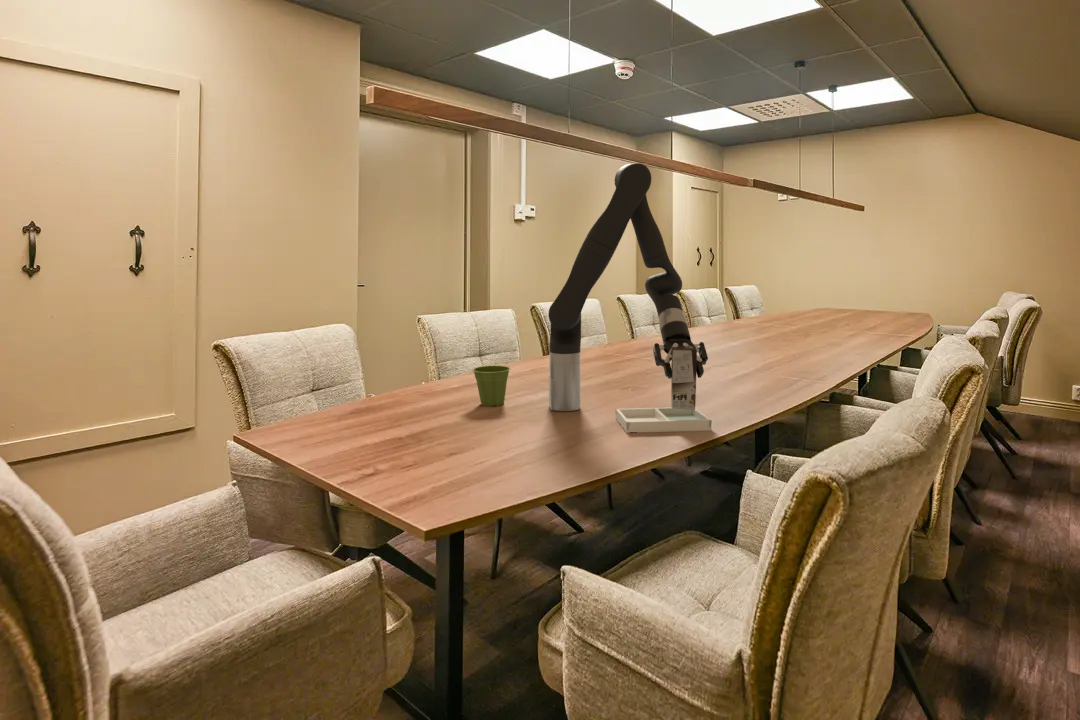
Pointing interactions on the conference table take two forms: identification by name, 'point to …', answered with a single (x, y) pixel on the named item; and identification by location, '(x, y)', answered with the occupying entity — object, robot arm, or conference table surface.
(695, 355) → the coffee box
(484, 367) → the plant pot
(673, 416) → the tray
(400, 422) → the conference table surface
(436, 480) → the conference table surface
